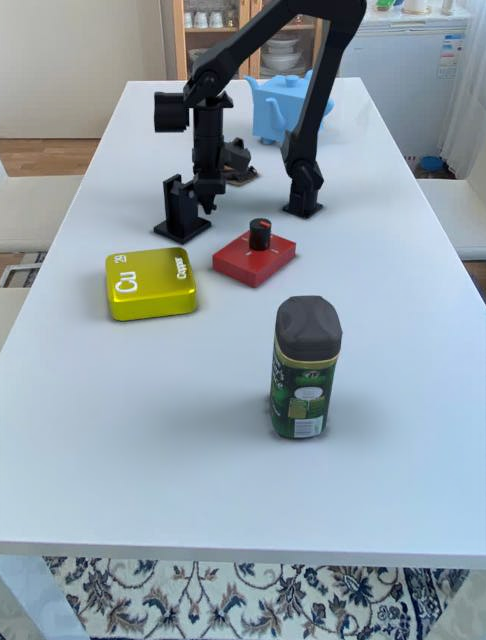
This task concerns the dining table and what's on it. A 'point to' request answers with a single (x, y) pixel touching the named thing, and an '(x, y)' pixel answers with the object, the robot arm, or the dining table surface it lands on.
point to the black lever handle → (175, 191)
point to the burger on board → (239, 175)
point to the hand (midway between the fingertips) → (207, 209)
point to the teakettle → (279, 105)
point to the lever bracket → (181, 213)
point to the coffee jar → (303, 365)
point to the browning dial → (259, 234)
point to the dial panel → (253, 259)
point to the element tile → (150, 283)
